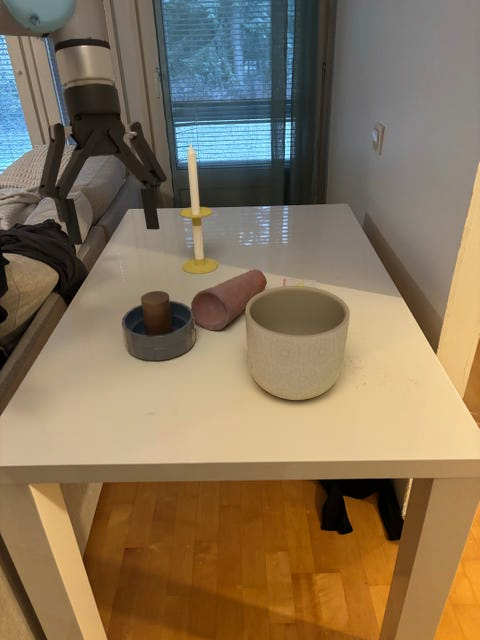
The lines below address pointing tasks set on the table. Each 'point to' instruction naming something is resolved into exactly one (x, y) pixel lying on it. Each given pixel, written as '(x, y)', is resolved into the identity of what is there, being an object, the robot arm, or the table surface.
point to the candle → (196, 222)
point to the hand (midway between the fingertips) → (117, 236)
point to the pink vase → (226, 299)
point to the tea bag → (299, 282)
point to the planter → (296, 340)
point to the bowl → (159, 344)
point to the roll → (157, 313)
